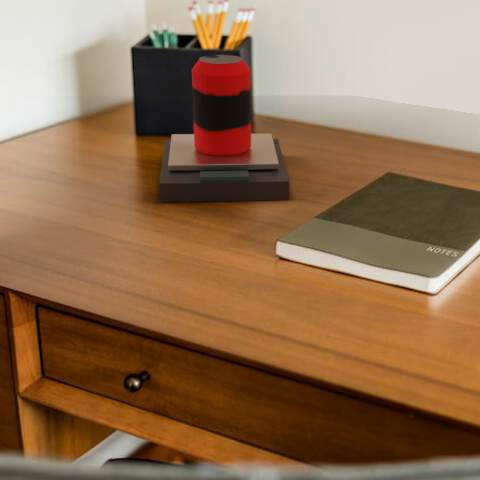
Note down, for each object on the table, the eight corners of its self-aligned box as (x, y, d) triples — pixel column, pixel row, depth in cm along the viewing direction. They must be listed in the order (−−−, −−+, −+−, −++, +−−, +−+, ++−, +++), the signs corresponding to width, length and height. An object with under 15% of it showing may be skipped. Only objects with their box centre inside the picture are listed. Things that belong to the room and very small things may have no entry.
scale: (160, 202, 111) (158, 178, 110) (165, 156, 129) (164, 135, 127) (289, 199, 114) (289, 176, 113) (277, 154, 131) (277, 134, 130)
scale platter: (168, 171, 114) (168, 165, 114) (171, 139, 127) (171, 134, 126) (278, 169, 116) (278, 163, 116) (271, 138, 129) (271, 133, 129)
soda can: (228, 136, 126) (226, 51, 122) (262, 149, 121) (262, 60, 117) (183, 146, 121) (179, 57, 117) (217, 160, 116) (214, 67, 112)
